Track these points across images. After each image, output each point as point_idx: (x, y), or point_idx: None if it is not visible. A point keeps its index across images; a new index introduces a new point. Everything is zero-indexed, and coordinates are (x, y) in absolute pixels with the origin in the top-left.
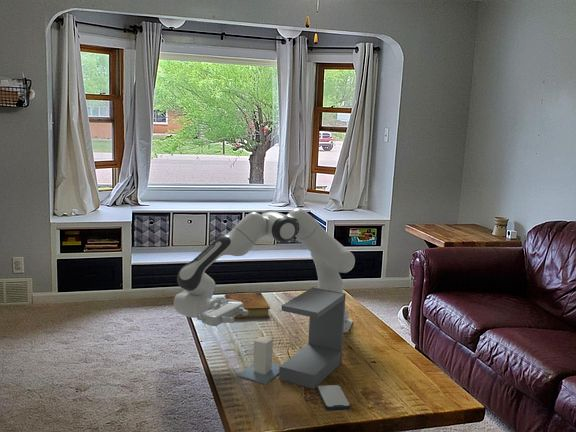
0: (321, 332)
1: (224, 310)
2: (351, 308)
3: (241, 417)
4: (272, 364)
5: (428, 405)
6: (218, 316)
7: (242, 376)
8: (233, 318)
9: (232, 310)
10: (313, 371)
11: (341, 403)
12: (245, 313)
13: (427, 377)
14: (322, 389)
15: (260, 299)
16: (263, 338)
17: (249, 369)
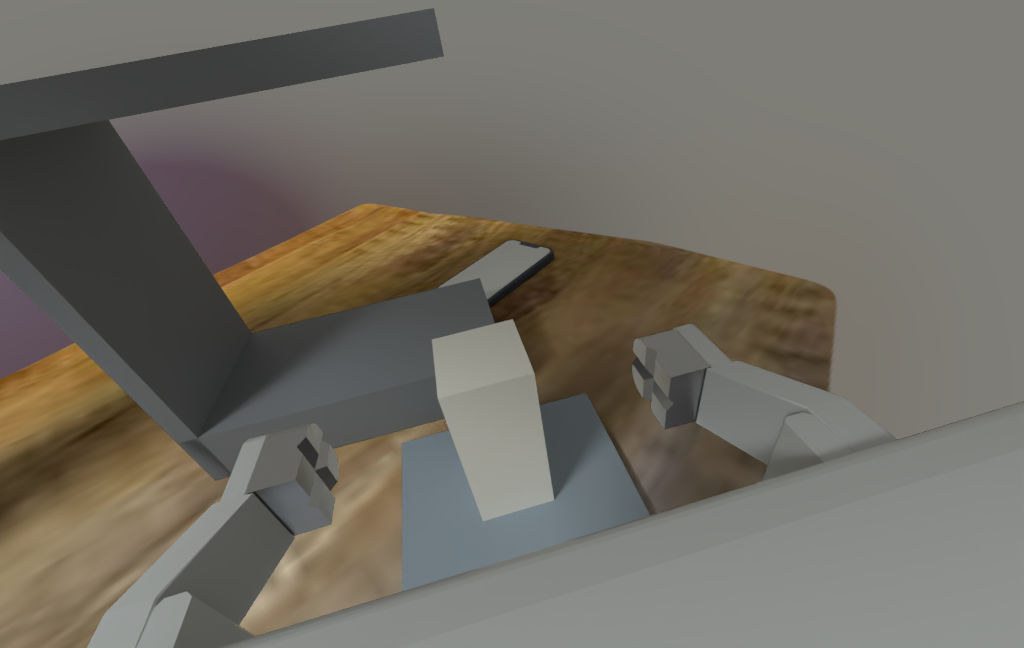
0: (180, 337)
1: (707, 627)
2: None
3: (790, 306)
4: (421, 497)
5: (404, 219)
6: (1006, 407)
7: (638, 494)
8: (668, 330)
9: (434, 589)
10: (457, 291)
11: (516, 247)
12: (320, 457)
13: (284, 256)
14: (486, 292)
15: None
16: (459, 369)
17: (554, 531)
